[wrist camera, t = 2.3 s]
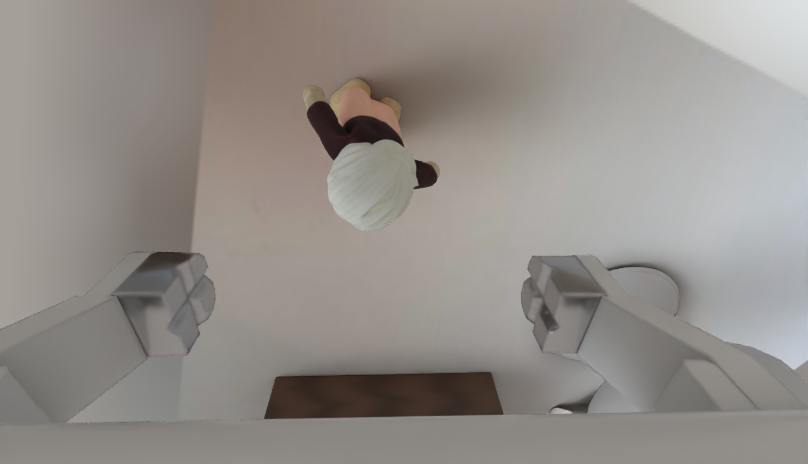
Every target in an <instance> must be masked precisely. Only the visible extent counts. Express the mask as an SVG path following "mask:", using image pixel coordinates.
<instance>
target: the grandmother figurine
mask: <svg viewBox="0 0 808 464" xmlns="http://www.w3.org/2000/svg"><path fill="white" fill-rule="evenodd" d="M303 101H304V103H305V104H306V109H307V117H308V119H309V121H310V123H311V125H312V127H313V128H314V129H315V131H316V132H317V134H318V135H319V137H320V139H321V141H322V144H323V146H324V147H325V149H326V151H327V152H328V154H329V155H330V157H331V158H332V159H333V160H334V162H333V164H332V167H331V172H330V173H329V175H328V178H327V183H328V185H329V186H328V189H327V193H328V197H329V201H330V203H331V204H332V205H333V207H334V210H335V212H336V213H337V214H338V215H339V216H341V217H342V218H343V219H344V220H346V221H348V222H350V223H351V224H353V225H354V226H355V227H357V228H358V229H360V230H363V231H371V230H372V231H373V230H377V229H380V228H383V227H385V226H387V225H388V224H390V223H391V222H392V221H394V220H395V219H397V218H398V217H399V216H400V215H401V214H402V213H403V212H404V211H405V209H406V208H407V206H408V204H409V202H410V199H411V197H412V194H413V189H419V188H425V187H429V186H432V185H433V184H434V183H436V181H437V178H438V177H439V175H440V168H439V166H438V165H437V164H436V163H434V162H426V163H424V162H422V161H418V160H414V158H413V155H412V153H411V152H410V151H409V150H408V149H406V148H404V145H403V142H402V135H401V131H400V128H399V125H398V122H399V119H400V116H401V113H402V108H401V105H400V104H399V102H397V101H396V100H394V99H392V98H389V97H385V98H383V99H381V100H380V101H379V102H378V101H376V100H373V99H371V90H370V88H369V86H368V85H367V84H366V83H365V82H364V81H363V80H361V79H353V80H351V81H349V82H348V83H347V84H345V85H344V86H343V87H341V88H340V89H339V90H337V91H336V92H335V93H334V94H333V95H332V97H331V101H330V105H329V104H328V102H327V100H326V99H325V95H324V93H323V91H322V90H321V89H320V88H319V87H317V86H313V85H312V86H309V87H307V88H306V89H305V90H304V91H303ZM330 106H331V107H330ZM336 116H337V117H338V119H337V117H336Z"/></svg>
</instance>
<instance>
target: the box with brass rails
mask: <svg viewBox="0 0 808 464" xmlns="http://www.w3.org/2000/svg"><path fill="white" fill-rule="evenodd" d="M466 415H504V414H503V411H502V407H501V404H500V401H499V398H498V394H497V391H496V388H495V384H494V381H493V378H492V374H491V373H455V374H408V375H362V376H315V377H276V379H275V383H274V386H273V389H272V393H271V396H270V400H269V403H268V407H267V410H266V414H265V417H264V419H304V418H358V417H412V416H466Z"/></svg>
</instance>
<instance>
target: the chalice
mask: <svg viewBox="0 0 808 464" xmlns="http://www.w3.org/2000/svg"><path fill="white" fill-rule="evenodd" d="M609 272H610V273H611V274H612V276H613V277H614V278H615V279H616V280H617V281H618V283H619V284H620V285H621V286H622V287H623V288H624V289H625V291H626V292H627V293H628V294H629V295H630V296H637V297H639V298H641V299H643V300H645V301H647V302H649V303H651V304H653V305H654V306H656V307H658V308H660V309H662V310H664V311H666V312H668V313H670V314H672V315H674V316H675V314H676V312H677V308H678V305H679V291H678V288H677V286H676V283H675V282H674V281H673V280H672V279H671V278H670V277H669V276H668V275H666V274H664V273H662V272H660V271H659V270H655V269H651V268H646V267H626V268H620V269H615V270H611V271H609ZM726 343H728V344H730V345H732V346H734V347H736V348H738V349H740V350H741V351H743V352H745V353H747V354H749V355H751V356H753V357H755V358H756V359H757V360H758V361H759V362H760V363H761V364H763V365H764V366H765V367H766V368H767V369H768V370H769V371H770V372H771V373H772V374H773V375H774V376H775V377H776V378H777V379H779V380H780V381H781V382H782V383H783V384H784V385H785V386H786V387H787V388H788V389H789V390H790V391H791V392H792V393H793V394H795V395H796V396H797V397H798V398H799V399H800V400H801V401H802V402H803V403H804V404H805V405H806V406H807V407H808V383H807V382H806V381H805V380H804V379H803V378H802V377H801V376H800V375H798V374H797V373H796V372H795V371H794V370H793V369H791V368H790V367H789V366H788V365H786V364H785V363H784V362H783V361H782V360H779V359H777V358H775V357H773V356H771V355H769V354H766V353H764V352H762V351H760V350H757V349H755V348H753V347H749V346H744V345H739V344H734V343H729V342H726ZM559 354H560V355H562V356H564V357H566V358H569V359H572V360H576V361H583V360H582V359H581V358H579V357H578V356H577V353H559ZM583 362H584V361H583ZM627 412H641V411H640V410H639V409H638V408H637V407H636V406H634V405H633V404H632V403H631V402H630V401H629V400H628V399H626V398H625V397H624V396H623V395H622V394H621V393H620V392H618V391H617V390H616V389H615V388H614V387H613V386H612V385H610V384H609V383H608V382H607V381H605V382H604V383H603V384H602V385H601V386H600V387H599V389H598V390H597V392H596V393H595V395H594V397H593V398H592V400H591V402H590V404H589V407H588V411H587V413H627Z"/></svg>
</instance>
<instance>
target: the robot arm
mask: <svg viewBox="0 0 808 464" xmlns="http://www.w3.org/2000/svg"><path fill="white" fill-rule="evenodd" d="M207 269H208V265H207V262H206V260H205V257H204V256H203V255H201V254H200V253H180V252H176V253H175V252H133V253H129V254H128V255H127V256H126V257H124V258H123V259H122V260H121V261H120V262H119V263H118V264H117V265H116V266H115V267H114V268H113V269H112V270H110V271H109V272H108V273H107V274H106V275H105V276H104V277H103V278H102V279H101V280H100V281H99V282H98V283H96V284H95V285H94V286H93V287H92V288H91V289H90V290H89V291H88V292H87V293H86V294H85V295H83V296H75V297H72V298H70V299H68V300H65V301H63V302H61V303H58V304H56V305H54V306H52V307H49V308H47V309H45V310H43V311H41V312H38V313H36V314H33V315H31V316H29V317H27V318H24V319H22V320H20V321H18V322H16V323H13V324H11V325H9V326H6V327H4V328H2V329H0V464H808V407H807V406H806V405H805V404H804V403H803V402H802V401H801V400H800V399H799V398H798V397H797V396H796V395H795V394H793V393H792V392H791V391H790V390H789V389H788V388H787V387H786V386H785V385H784V384H783V383H782V382H781V381H780V380H779V379H777V378H776V377H775V376H774V375H773V374H772V373H771V372H770V371H769V370H768V369H767V368H766V367H765V366H764V365H763V364H761V363H760V362H759V361H758V360H757V359H756V358H755V357H753V356H751V355H749V354H747V353H745V352H743V351H741V350H740V349H738V348H736V347H734V346H732V345H730V344H728V343H726V342H724V341H722V340H720V339H718V338H716V337H714V336H712V335H711V334H709V333H707V332H705V331H703V330H701V329H699V328H697V327H695V326H693V325H691V324H689V323H687V322H685V321H683V320H682V319H680V318H678V317H676V316H674V315H672V314H670V313H668V312H666V311H664V310H662V309H660V308H658V307H656V306H654V305H653V304H651V303H649V302H647V301H645V300H643V299H641V298H639V297H637V296H630V295H629V294H628V293H627V292H626V291H625V289H624V288H623V287H622V286H621V285H620V284H619V283H618V281H617V280H616V279H615V278H614V277H613V276H612V274H611V273H610V272H609V271H608V270H607V269H606V268H605V266H604V265H603V264H602V263H601V262H600V261H599V259H598V258H597V257H595V256H593V255H572V256H533V257H532V258H531V260H530V262H529V265H528V271H529V273H530V275H531V277H529V278H528V279H527V280H526V281H525V282H524V283H523V287H522V292H521V304H522V308H523V311H524V314H525V316H526V318H527V319H528V320H529V321H531V322H532V323H534V324H535V325H534V329H533V334H534V336H535V338H536V340H537V342H538V344H539V346H540V349H541V351H542V353H577V356H578V357H579V358H581V359H582V360H583V361H584V362H585V363H586V364H587V365H589V366H590V367H591V368H592V369H593V370H594V371H595V372H597V373H598V374H599V375H600V376H601V377H602V378H604V379H605V380H606V381H607V382H608V383H609V384H610V385H612V386H613V387H614V388H615V389H616V390H617V391H618V392H620V393H621V394H622V395H623V396H624V397H625V398H626V399H628V400H629V401H630V402H631V403H632V404H633V405H634V406H636V407H637V408H638V409H639V410H640V411H641V412H627V413H572V414H518V415H466V416H412V417H358V418H304V419H250V420H196V421H145V422H144V421H143V422H90V423H66V422H67V421H69V420H70V419H71V418H73V417H74V416H75V415H76V414H78V413H79V412H80V411H82V410H83V409H84V408H85V407H87V406H88V405H89V404H91V403H92V402H93V401H95V400H96V399H97V398H98V397H99V396H101V395H102V394H104V393H105V392H106V391H107V390H109V389H110V388H111V387H113V386H114V385H115V384H116V383H118V382H119V381H120V380H122V379H123V378H124V377H125V376H127V375H128V374H129V373H131V372H132V371H133V370H134V369H136V368H137V367H138V366H140V365H141V364H142V363H143V362H145V361H146V360H147V359H148V358H147V357H168V356H187V355H188V353H189V351H190V350H191V348H192V346H193V345H194V343H195V341H196V339H197V338H198V336H199V334H200V332H199V329H198V326H199V325H200V324H202V323H203V322H205V321H206V320H208V319H209V317H210V315H211V313H212V311H213V308H214V304H215V299H216V298H215V288H214V284H213V282H212V281H211V280H210V279H209V278H208V277H206V276H205V275H204V274H205V272H206V270H207Z"/></svg>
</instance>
